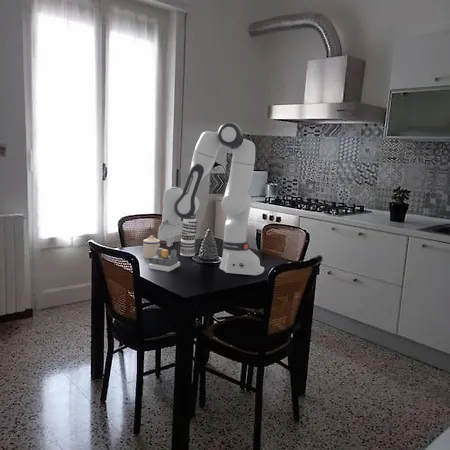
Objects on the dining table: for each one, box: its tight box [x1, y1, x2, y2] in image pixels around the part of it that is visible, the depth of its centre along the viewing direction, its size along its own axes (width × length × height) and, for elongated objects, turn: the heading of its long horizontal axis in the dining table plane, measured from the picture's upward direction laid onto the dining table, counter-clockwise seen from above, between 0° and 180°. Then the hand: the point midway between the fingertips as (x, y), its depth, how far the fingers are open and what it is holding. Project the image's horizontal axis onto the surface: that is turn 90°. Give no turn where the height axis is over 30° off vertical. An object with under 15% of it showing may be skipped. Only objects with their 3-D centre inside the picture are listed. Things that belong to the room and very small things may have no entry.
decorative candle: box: [179, 212, 198, 257], centre depth 243 cm, size 9×9×25 cm
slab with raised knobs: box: [148, 247, 181, 272], centre depth 217 cm, size 11×12×8 cm
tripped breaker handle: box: [161, 248, 169, 258], centre depth 217 cm, size 2×2×4 cm
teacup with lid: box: [142, 235, 161, 260], centre depth 236 cm, size 12×9×12 cm
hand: (169, 246), depth 222 cm, fingers closed
